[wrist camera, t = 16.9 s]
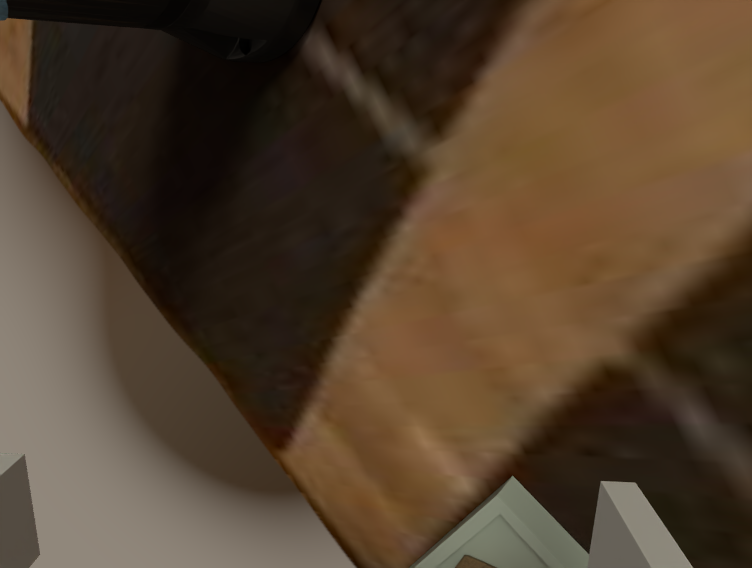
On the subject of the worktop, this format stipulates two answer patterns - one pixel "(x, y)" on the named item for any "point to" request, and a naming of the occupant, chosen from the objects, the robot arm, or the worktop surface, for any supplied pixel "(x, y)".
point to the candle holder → (472, 563)
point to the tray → (508, 536)
